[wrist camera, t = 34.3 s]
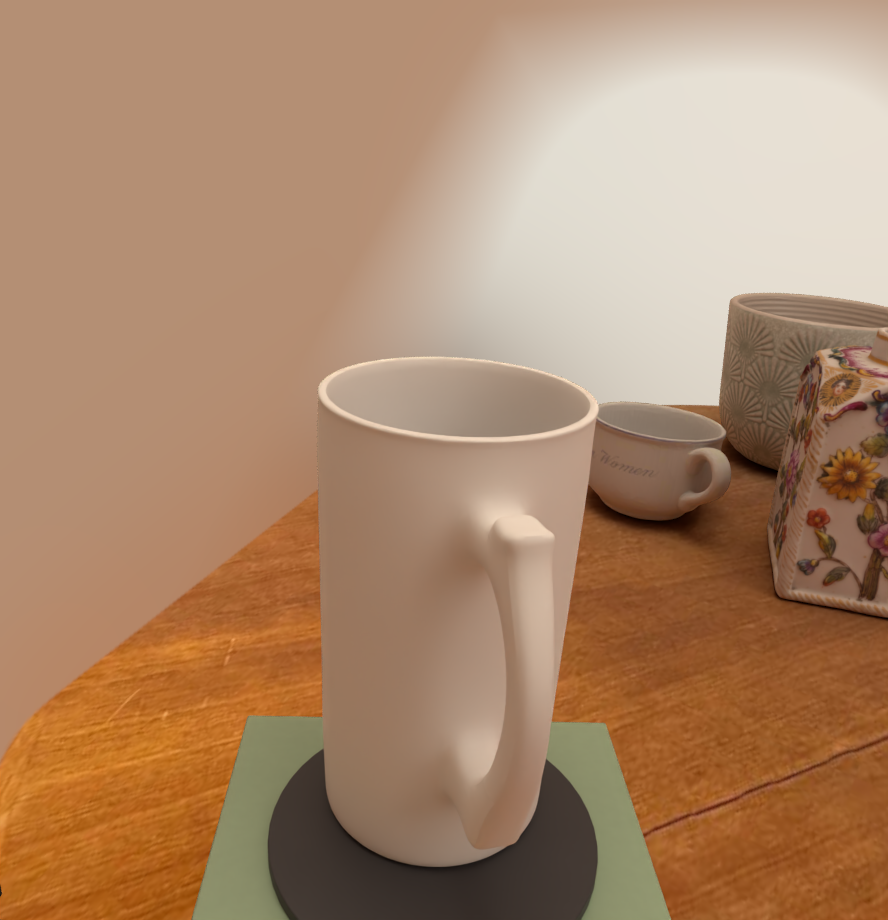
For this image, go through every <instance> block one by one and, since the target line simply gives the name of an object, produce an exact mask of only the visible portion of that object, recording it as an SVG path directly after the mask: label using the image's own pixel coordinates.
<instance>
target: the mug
mask: <svg viewBox="0 0 888 920" xmlns="http://www.w3.org/2000/svg"><path fill="white" fill-rule="evenodd" d="M317 392H318V393H317V394H318V420H317V422H318V423H317V460H318V461H317V462H318V510H319V552H320V595H321V640H322V701H323V742H324V763H325V782H326V792H327V797H328V800H329V803H330V806H331V809H332V811H333V813H334V815H335V817H336V818H337V820H338V821H339V823H340V824H341V826H342V827H343V828H344V829H345V830H346V831H347V832H348V833H349V834H350V835H351V836H352V837H353V838H354V839H355V840H357V841H358V842H359V843H361V844H362V845H363V846H365V847H367V848H368V849H370V850H372V851H373V852H375V853H377V854H379V855H382V856H384V857H386V858H389V859H392V860H395V861H398V862H402V863H406V864H411V865H417V866H426V867H448V866H457V865H463V864H468V863H472V862H475V861H478V860H481V859H484V858H487V857H489V856H491V855H493V854H495V853H497V852H499V851H500V850H502V849H504V848H505V847H507V846H508V845H512V844H514V843H516V842H517V840H518V839H519V837H520V835H521V833H522V832H523V831H524V830H525V829H526V827H527V826H528V824H529V822H530V821H531V819H532V817H533V814H534V812H535V809H536V806H537V802H538V798H539V792H540V785H541V779H542V774H543V770H544V765H545V761H546V755H547V750H548V743H549V736H550V728H551V721H552V714H553V707H554V701H555V694H556V687H557V681H558V674H559V668H560V661H561V655H562V648H563V642H564V635H565V629H566V623H567V616H568V610H569V603H570V597H571V591H572V584H573V578H574V572H575V565H576V559H577V553H578V546H579V540H580V534H581V527H582V521H583V515H584V508H585V502H586V495H587V489H588V481H589V474H590V465H591V456H592V447H593V439H594V431H595V424H596V419H597V415H598V412H599V406H598V403H597V401H596V399H595V398H594V397H593V396H592V395H591V394H590V393H589V392H588V391H587V390H585V389H584V388H582V387H581V386H579V385H577V384H575V383H573V382H571V381H569V380H566V379H564V378H561V377H559V376H556V375H553V374H550V373H547V372H543V371H540V370H536V369H532V368H528V367H524V366H519V365H514V364H508V363H502V362H496V361H488V360H480V359H469V358H455V357H454V358H453V357H406V358H392V359H384V360H376V361H370V362H365V363H360V364H356V365H353V366H349V367H346V368H343V369H341V370H338V371H336V372H334V373H332V374H330V375H329V376H327V377H326V378H325V379H324V380H323V381H322V382H321V383H320V385H319V387H318V391H317Z"/></svg>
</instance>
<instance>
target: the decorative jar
mask: <svg viewBox="0 0 888 920" xmlns="http://www.w3.org/2000/svg"><path fill="white" fill-rule="evenodd" d="M767 532H768V543H769V550H770V556H771V563H772V568H773V577H774V585H775V590H776V593H777V594H778V596H779V597H781V598H784V599H789V600H794V601H801V602H806V603H811V604H816V605H822V606H829V607H835V608H840V609H845V610H851V611H854V612H859V613H864V614H869V615H874V616H880V617H886V618H888V327H884V328H880V329H879V330H878V332H877V335H876V338H875V341H874V344H873V347H871V346H856V345H851V346H846V347H835V348H829V349H823V350H819V351H816V353H815V355H814V356H813V357H812V358H811V360H810V363H809V364H808V365H806V366H805V369H804V371H803V373H802V374H801V376H800V381H799V386H798V390H797V394H796V398H795V402H794V406H793V410H792V415H791V419H790V424H789V428H788V433H787V437H786V441H785V446H784V449H783V454H782V458H781V463H780V467H779V471H778V476H777V479H776V486H775V490H774V495H773V500H772V505H771V510H770V516H769V521H768V526H767Z"/></svg>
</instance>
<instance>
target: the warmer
mask: <svg viewBox="0 0 888 920" xmlns="http://www.w3.org/2000/svg"><path fill="white" fill-rule="evenodd" d="M191 920H671V918H670V915H669V912H668V909H667V906H666V903H665V900H664V897H663V894H662V891H661V888H660V885H659V882H658V879H657V876H656V873H655V870H654V867H653V864H652V861H651V858H650V855H649V852H648V849H647V846H646V843H645V840H644V837H643V834H642V831H641V828H640V825H639V822H638V819H637V816H636V813H635V810H634V807H633V804H632V801H631V798H630V795H629V792H628V789H627V786H626V783H625V780H624V777H623V774H622V771H621V768H620V765H619V762H618V759H617V756H616V753H615V750H614V747H613V744H612V741H611V738H610V735H609V732H608V729H607V726H606V724H605V723H580V722H551V728H550V736H549V743H548V750H547V755H546V761H545V765H544V770H543V774H542V779H541V785H540V792H539V798H538V802H537V806H536V809H535V812H534V814H533V817H532V819H531V821H530V822H529V824H528V826H527V827H526V829H525V830H524V831H523V832H522V833H521V835H520V837H519V839H518V840H517V842H516V843H514V844H512V845H508V846H507V847H505V848H504V849H502V850H500V851H499V852H497V853H495V854H493V855H491V856H489V857H487V858H484V859H481V860H478V861H475V862H472V863H468V864H463V865H457V866H448V867H426V866H417V865H411V864H406V863H402V862H398V861H395V860H392V859H389V858H386V857H384V856H382V855H379V854H377V853H375V852H373V851H372V850H370V849H368V848H367V847H365V846H363V845H362V844H361V843H359V842H358V841H357V840H355V839H354V838H353V837H352V836H351V835H350V834H349V833H348V832H347V831H346V830H345V829H344V828H343V827H342V826H341V824H340V823H339V821H338V820H337V818H336V817H335V815H334V813H333V811H332V809H331V806H330V803H329V800H328V797H327V792H326V782H325V763H324V742H323V717H293V716H248V718H247V721H246V725H245V728H244V732H243V735H242V739H241V743H240V746H239V750H238V753H237V757H236V761H235V764H234V768H233V771H232V775H231V779H230V782H229V786H228V789H227V793H226V797H225V800H224V804H223V808H222V811H221V815H220V818H219V822H218V826H217V829H216V833H215V836H214V840H213V844H212V847H211V851H210V854H209V858H208V862H207V865H206V869H205V872H204V876H203V880H202V883H201V887H200V890H199V894H198V898H197V901H196V905H195V909H194V912H193V916H192V919H191Z"/></svg>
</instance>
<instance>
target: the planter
mask: <svg viewBox="0 0 888 920" xmlns="http://www.w3.org/2000/svg"><path fill="white" fill-rule="evenodd" d="M884 327H888V307H884V306H880V305H875V304H870V303H864V302H858V301H852V300H846V299H839V298H831V297H822V296H813V295H802V294H787V293H786V294H785V293H751V294H742V295H738V296H735V297H733V298H732V299H731V300H730V305H729V315H728V324H727V333H726V342H725V352H724V360H723V370H722V379H721V388H720V400H719V410H720V418H721V423H722V427H724V429H725V430H726V436H727V438H728V440H729V441H730V443H731V444H732V446H733V447H734V448H735V449H736V450H737V451H738V452H740V453H741V454H742V455H743V456H745V457H746V458H748V459H749V460H751V461H753V462H755V463H758V464H760V465H762V466H765V467H768V468H771V469H774V470H778V471H779V467H780V463H781V458H782V454H783V449H784V446H785V441H786V437H787V433H788V428H789V424H790V419H791V415H792V410H793V406H794V402H795V398H796V394H797V390H798V386H799V381H800V376H801V374H802V373H803V371H804V369H805V366H806V365H808V364H809V363H810V360H811V358H812V357H813V356H814V355H815V353H816V351H819V350H823V349H829V348H835V347H846V346H851V345H856V346H871V347H873V344H874V341H875V338H876V335H877V332H878V330H879V329H880V328H884Z"/></svg>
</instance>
